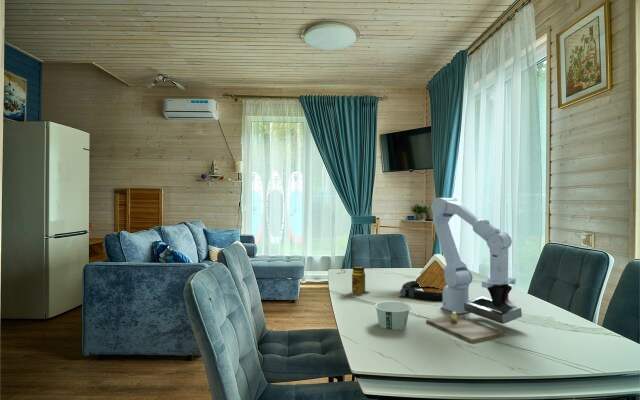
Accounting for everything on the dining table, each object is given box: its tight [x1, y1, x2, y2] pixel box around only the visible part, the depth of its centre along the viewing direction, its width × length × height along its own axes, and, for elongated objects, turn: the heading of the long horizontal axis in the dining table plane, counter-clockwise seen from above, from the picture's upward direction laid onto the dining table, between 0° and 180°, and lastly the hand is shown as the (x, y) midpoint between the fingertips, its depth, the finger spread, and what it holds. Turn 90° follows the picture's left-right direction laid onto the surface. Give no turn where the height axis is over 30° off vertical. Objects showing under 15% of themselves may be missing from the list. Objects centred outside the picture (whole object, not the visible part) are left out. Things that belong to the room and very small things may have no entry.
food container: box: [374, 300, 411, 331], centre depth 125 cm, size 12×12×6 cm
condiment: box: [348, 266, 371, 296], centre depth 169 cm, size 7×8×12 cm
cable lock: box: [399, 280, 443, 302], centre depth 168 cm, size 28×4×30 cm
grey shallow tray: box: [464, 295, 523, 325], centre depth 127 cm, size 16×9×3 cm, turn 25°
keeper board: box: [425, 311, 506, 344], centre depth 121 cm, size 20×14×4 cm
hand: (498, 306), depth 128 cm, fingers closed on grey shallow tray, 2 cm apart
